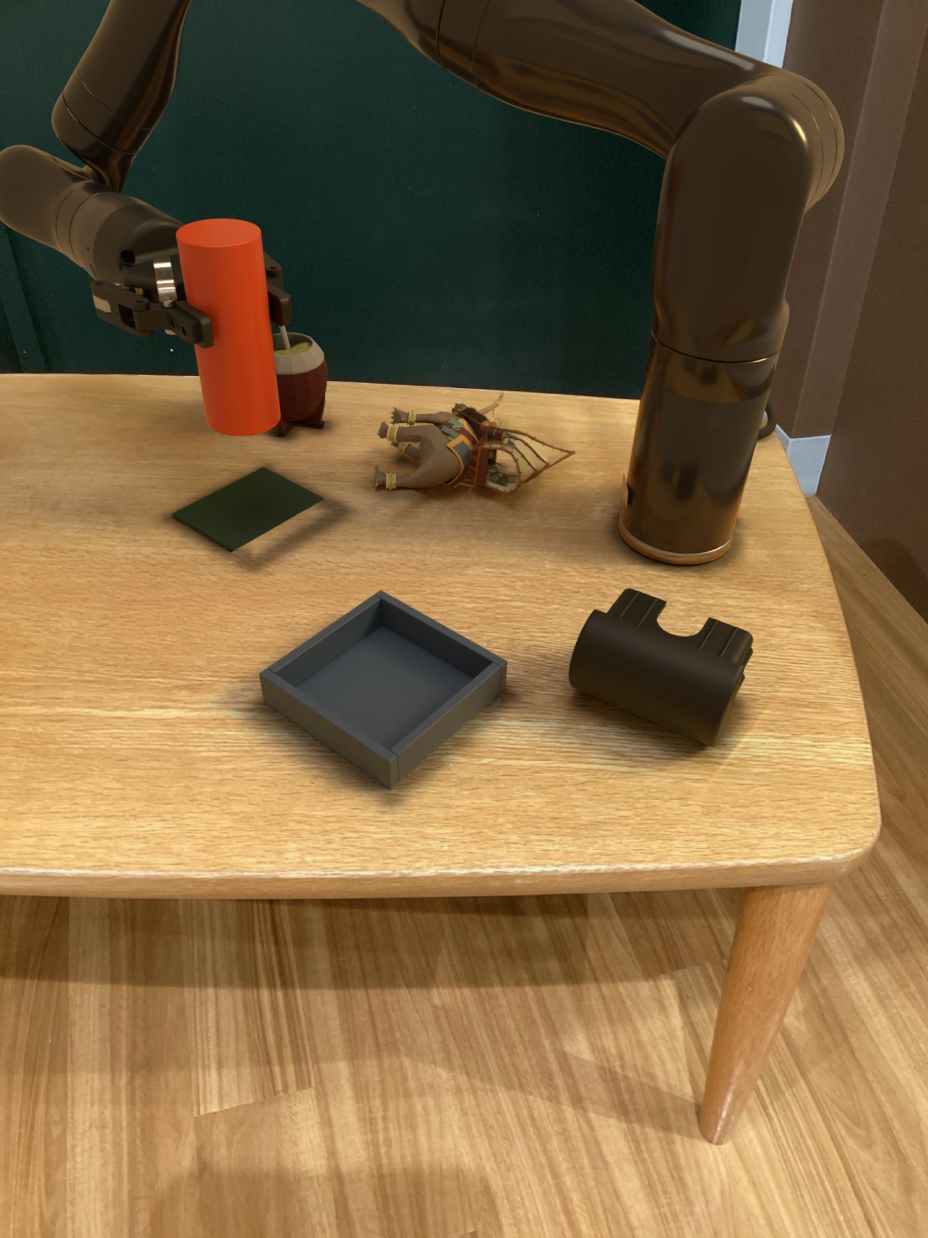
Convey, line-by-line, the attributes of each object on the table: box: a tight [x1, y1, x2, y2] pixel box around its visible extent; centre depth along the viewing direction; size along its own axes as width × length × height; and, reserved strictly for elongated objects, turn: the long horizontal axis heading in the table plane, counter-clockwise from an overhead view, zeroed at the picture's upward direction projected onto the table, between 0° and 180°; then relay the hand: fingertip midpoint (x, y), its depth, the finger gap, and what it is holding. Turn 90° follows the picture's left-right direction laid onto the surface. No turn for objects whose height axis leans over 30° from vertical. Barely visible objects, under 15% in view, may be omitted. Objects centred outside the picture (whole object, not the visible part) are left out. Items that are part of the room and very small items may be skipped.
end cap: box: [567, 587, 754, 747], centre depth 59 cm, size 10×7×7 cm
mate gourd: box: [272, 325, 328, 438], centre depth 85 cm, size 8×8×15 cm
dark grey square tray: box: [258, 589, 508, 791], centre depth 61 cm, size 11×11×3 cm
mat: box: [171, 466, 326, 553], centre depth 78 cm, size 10×10×1 cm
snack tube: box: [176, 218, 281, 437], centre depth 67 cm, size 6×6×14 cm
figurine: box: [374, 392, 576, 496], centre depth 81 cm, size 20×6×17 cm
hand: (248, 322), depth 64 cm, fingers closed on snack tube, 5 cm apart
